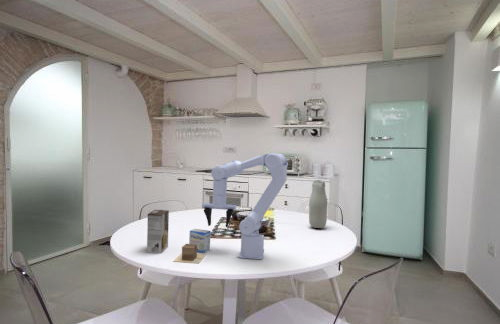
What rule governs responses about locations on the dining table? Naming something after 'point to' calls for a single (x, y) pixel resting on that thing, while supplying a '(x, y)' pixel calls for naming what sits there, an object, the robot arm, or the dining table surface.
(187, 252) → the walnut cube
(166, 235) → the coffee box
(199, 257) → the kraft envelope
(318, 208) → the grey bottle
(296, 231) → the dining table surface
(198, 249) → the medicine box
